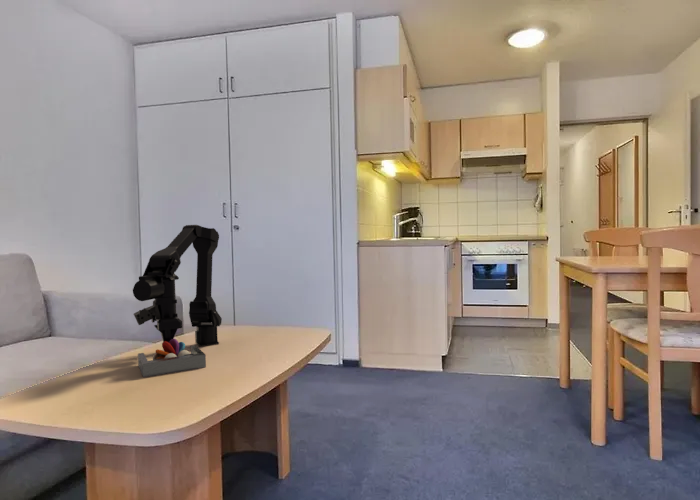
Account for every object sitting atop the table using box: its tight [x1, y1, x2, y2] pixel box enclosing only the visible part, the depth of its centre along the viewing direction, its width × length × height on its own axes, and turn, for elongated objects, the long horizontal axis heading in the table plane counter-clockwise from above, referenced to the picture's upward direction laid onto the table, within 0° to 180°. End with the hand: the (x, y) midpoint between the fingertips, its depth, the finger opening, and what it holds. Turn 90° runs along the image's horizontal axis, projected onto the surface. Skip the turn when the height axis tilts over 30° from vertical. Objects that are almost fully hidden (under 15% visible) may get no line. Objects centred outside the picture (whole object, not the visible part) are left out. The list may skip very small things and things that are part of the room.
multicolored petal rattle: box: [152, 338, 191, 360], centre depth 131 cm, size 8×10×7 cm
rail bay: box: [137, 345, 207, 378], centre depth 129 cm, size 16×14×4 cm
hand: (167, 349), depth 135 cm, fingers closed
